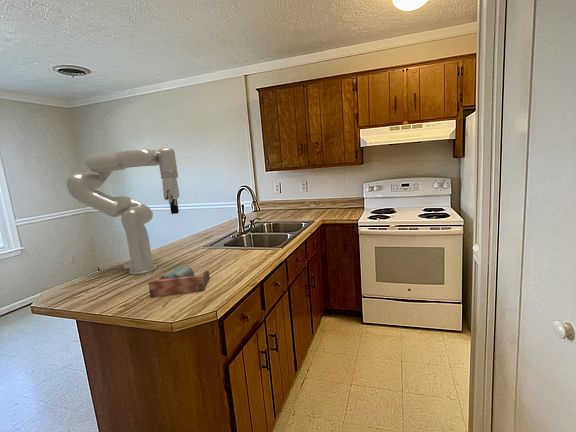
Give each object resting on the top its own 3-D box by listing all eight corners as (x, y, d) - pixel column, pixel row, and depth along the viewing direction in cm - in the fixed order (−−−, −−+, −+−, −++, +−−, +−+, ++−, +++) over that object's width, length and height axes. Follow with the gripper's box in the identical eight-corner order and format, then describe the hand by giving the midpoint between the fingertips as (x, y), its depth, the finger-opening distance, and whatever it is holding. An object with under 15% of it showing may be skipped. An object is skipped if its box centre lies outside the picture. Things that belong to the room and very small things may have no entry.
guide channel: (150, 297, 121) (147, 282, 120) (162, 282, 136) (160, 269, 135) (203, 290, 122) (201, 276, 121) (209, 277, 137) (207, 264, 136)
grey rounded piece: (180, 286, 120) (171, 262, 123) (163, 296, 123) (155, 273, 126) (203, 281, 133) (195, 260, 135) (187, 290, 136) (179, 269, 138)
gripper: (166, 175, 155) (171, 212, 158) (156, 176, 141) (162, 216, 144) (181, 174, 156) (186, 210, 159) (173, 175, 141) (179, 215, 144)
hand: (175, 213), depth 151 cm, fingers closed
